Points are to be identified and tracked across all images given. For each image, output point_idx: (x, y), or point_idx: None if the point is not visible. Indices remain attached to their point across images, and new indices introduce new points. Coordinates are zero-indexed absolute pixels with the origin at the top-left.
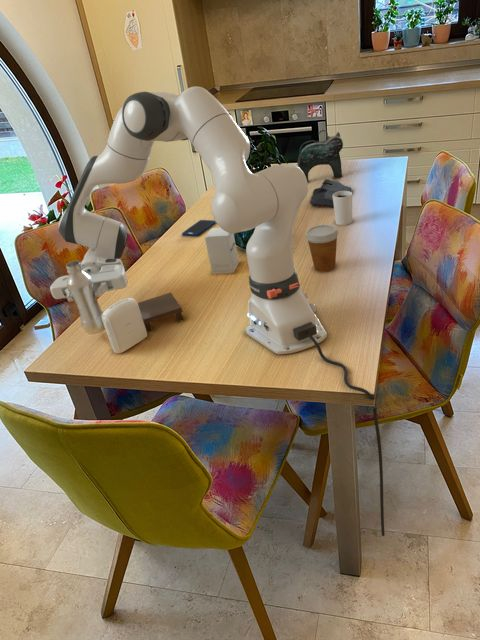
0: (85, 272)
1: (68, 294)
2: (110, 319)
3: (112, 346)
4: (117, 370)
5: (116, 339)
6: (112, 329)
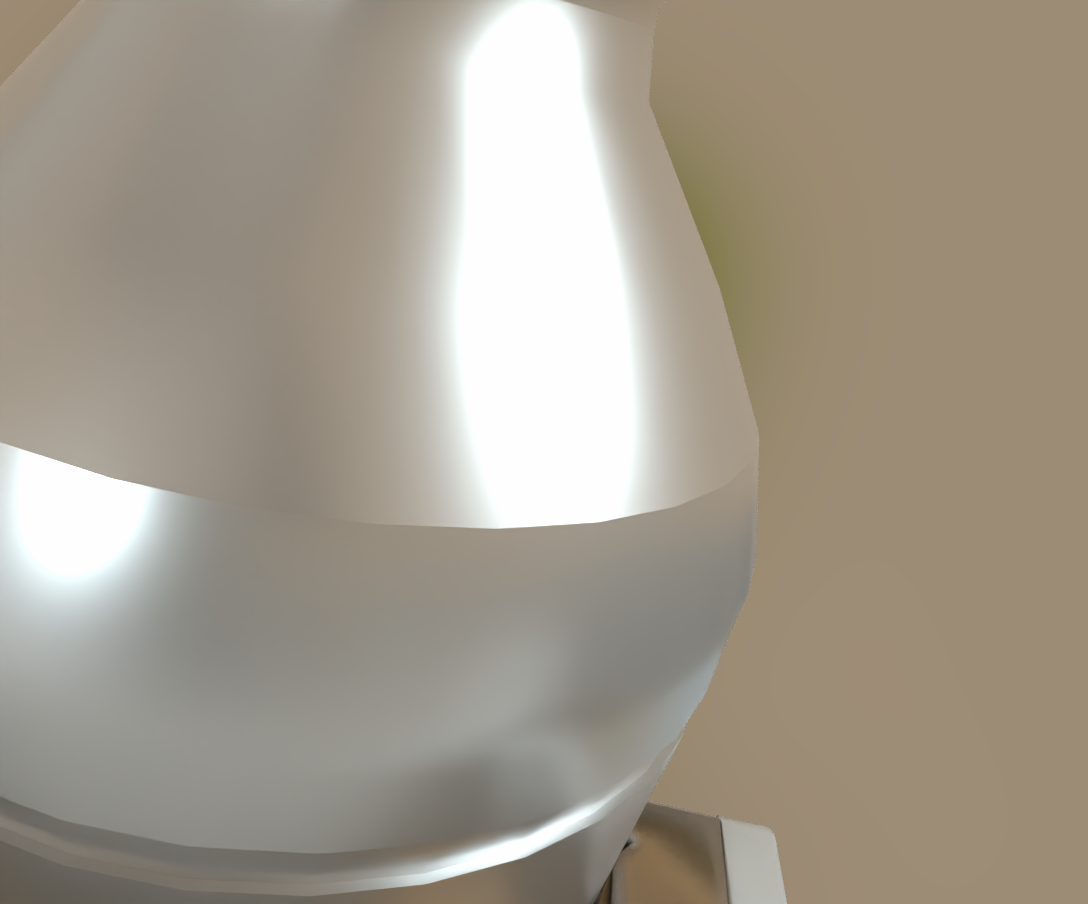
0: (2, 86)
1: (741, 871)
2: None
3: None
4: None
5: None
6: None
